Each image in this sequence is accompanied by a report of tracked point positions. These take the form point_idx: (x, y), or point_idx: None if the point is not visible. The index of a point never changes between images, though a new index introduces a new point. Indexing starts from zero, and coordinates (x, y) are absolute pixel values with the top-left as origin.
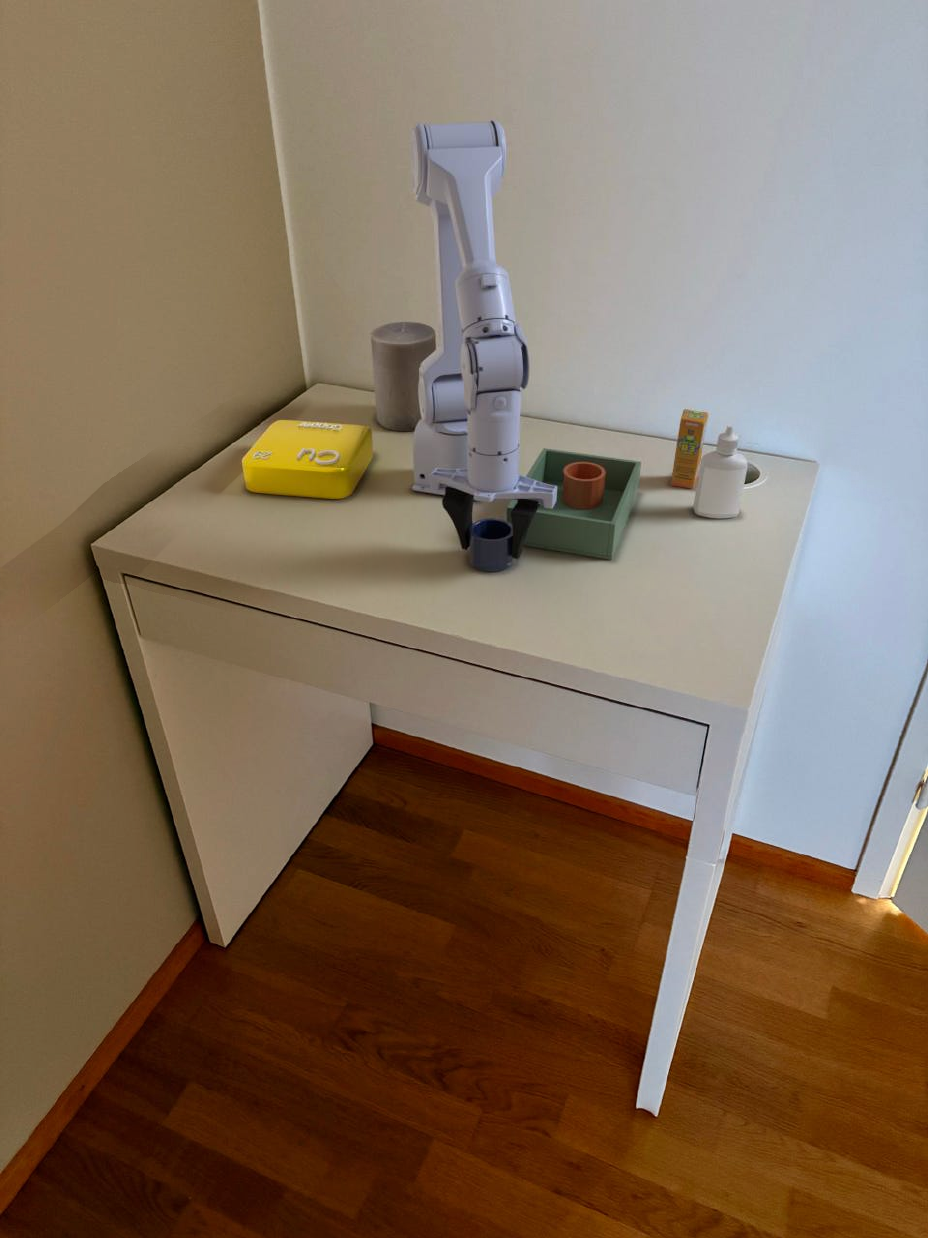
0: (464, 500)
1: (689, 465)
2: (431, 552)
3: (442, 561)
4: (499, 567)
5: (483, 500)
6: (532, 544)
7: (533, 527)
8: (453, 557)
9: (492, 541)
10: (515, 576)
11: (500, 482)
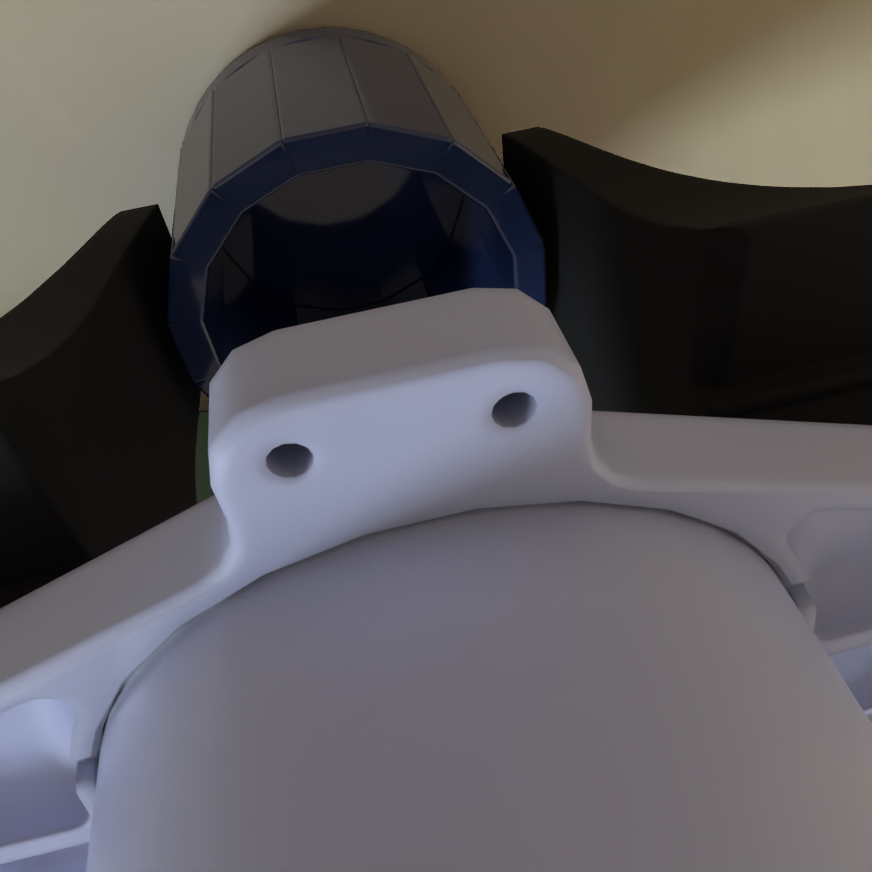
0: (693, 379)
1: None
2: (729, 72)
3: (631, 2)
4: (209, 95)
5: (346, 331)
6: (207, 420)
7: (201, 501)
8: (576, 89)
9: (260, 156)
10: (73, 84)
11: (173, 823)
